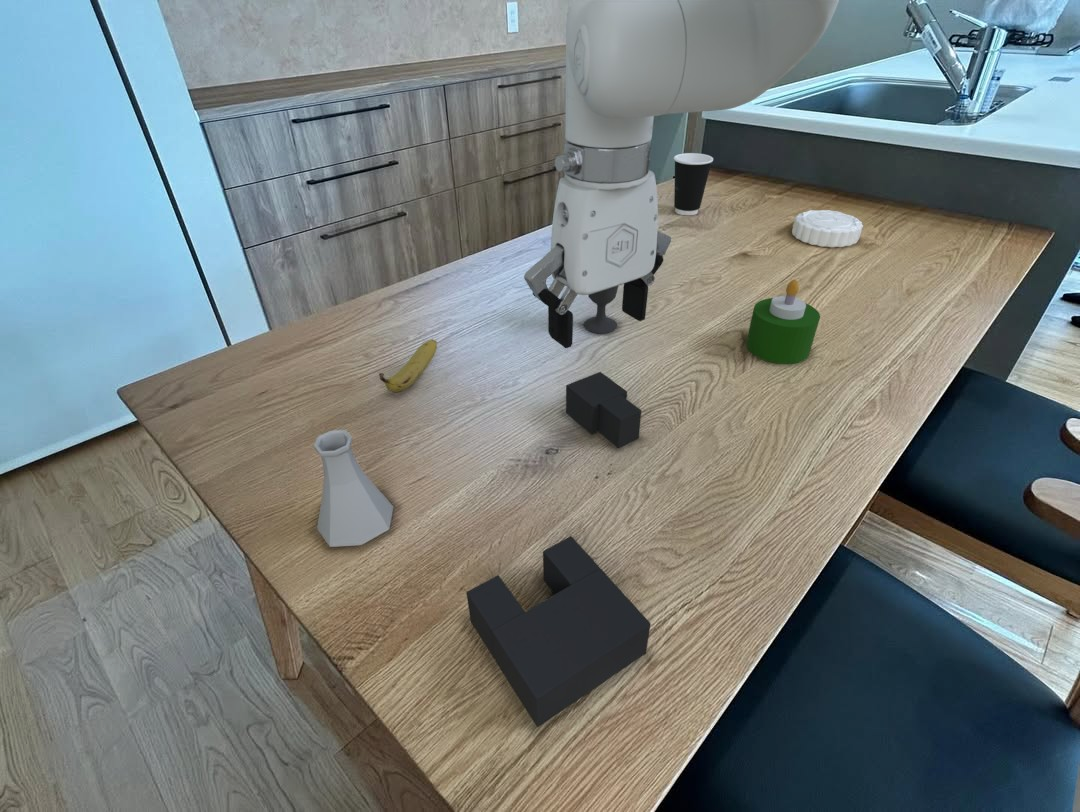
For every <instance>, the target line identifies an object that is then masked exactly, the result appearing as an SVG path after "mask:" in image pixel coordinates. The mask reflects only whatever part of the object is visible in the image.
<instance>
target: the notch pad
mask: <svg viewBox="0 0 1080 812" xmlns="http://www.w3.org/2000/svg"><path fill="white" fill-rule="evenodd" d="M542 561H543V562H542V567H543V569H542V570H543V573H542V575H543V582H544V583H545V585H546V586H547V587H548V588H549V590H550V591H551V592H552V593H553V595H551V596H550V597H547V598H546V599H544V600H542V601H541V602H539V603H537V604H536V605H534V606H532V607H530V608H528V609H527V610H526V611H525V609H524V608H523V607H522V605H521V604H520V603H519V601H518V600H517V598H516V597H515V596H514V594H513V593H512V591H511V590H510V589H509V587H508V585H507V584H506V583H505V582H504V580H503V579H502V577H501V576H500V575H499V574H497V575H495V576H493V577H492V578H490V579H487V580H486V581H483V582H482V583H480V584H478V585H477V586H475V587H472V588H471V589H469V590H467V591H465V592H466V593H465V594H466V599H467V606H468V607H467V608H468V612H469V613H468V614H469V619H470V623H471V625H472V626H473V628H474V629H475V631H476V633H477V634H478V636H479V638H480V639H481V640H482V642H483V644H484V645H485V647H486V648H487V650H488V651H489V653H490V655H491V657H492V658H493V660H494V661H495V663H496V664H497V666H498V668H499V670H500V671H501V672H502V674H503V675H504V677H505V679H506V681H507V682H508V683H509V685H510V687H511V688H512V690H513V691H514V693H515V695H516V697H517V698H518V700H519V701H520V702H521V704H522V706H523V707H524V709H525V710H526V712H527V714H528V715H529V717H530V719H531V720H532V723H534V725H535V726H536V728H539V727H541V726H542V725H543V724H545V723H547V722H548V721H549V720H551V719H552V718H554V717H555V716H557V715H558V714H560V713H561V712H563V711H564V710H566V709H568V707H570V706H572V705H573V704H574V703H576V702H577V701H579V700H580V699H582V698H583V697H584V696H586V695H587V694H589V693H590V692H592V691H593V690H594V689H596V688H598V687H599V686H601V685H603V684H604V683H605V682H607V681H608V680H609V679H610V678H612V677H614V676H615V675H617V674H618V673H620V672H621V671H622V670H624V669H625V668H627V667H628V666H630V665H632V664H633V663H634V662H635V661H637V660H638V659H640V658H642V657H643V656H644V655H646V654H647V649H648V642H649V636H650V631H651V625H652V624H651V622H650V621H649V620H648V619H647V618H646V616H645V615H644V614H643V613H642V612H641V611H640V610H639V609H638V608H637V607H636V606H635V604H634V603H633V602H632V601H631V600H630V599H629V598H628V596H626V594H625V593H624V592H623V591H622V590H621V589H620V588H619V586H617V585H616V583H614V581H613V580H612V579H611V578H610V577H609V576H608V575H607V574H606V572H605V571H604V570H603V569H602V568H601V567H600V566H599V565H598V563H597V562H596V561H595V560H594V559H593V558H592V557H591V556H590V555H589V554H588V553H587V551H586V550H585V549H584V548H583V547H582V545H580V543H578V541H576V539H575V538H574V537H573V536H572V535H570V536H568V537H566V538H565V539H564V538H563V540H560V541H559V542H556V543H555V544H553V545H552V546H549V547H548V548H546V549H544V550H542Z"/></svg>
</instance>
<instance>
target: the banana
mask: <svg viewBox="0 0 1080 812" xmlns="http://www.w3.org/2000/svg"><path fill="white" fill-rule="evenodd" d="M437 343H438V342H437V341H436V340H434V339H429V340H427V341H425V342H423V343H422V344H421V345H420V346H419V347H418V348H417V349H416V350H415V352H414V353H413V354H412V356H411V357H410V358H409V360H408V361H407V362H406V363H405V364H404V365H403V366H402V368H401V369H400V370H399V371H397V372H396V373H395V374H394V375H393V376H392V377H390V378H385V377H384V375H385V374H384V373H382V372H381V373H378V376H379V380H380V381H382V382H383V383H384V385H385V387H386V389H387V390H388V391H389V392H391V393H401V392H403V391H405V390H407V389H408V388H410V387H412V386H413V385H414V384H415V382H417V380H418V379H419V378H420V377H421V376H422V375H423V373H424V372H425V371H426V369H427V368H428V366H429V364H430V363H431V361H432V360H433V358H434V357H435V354H436V352H437V348H438V344H437Z"/></svg>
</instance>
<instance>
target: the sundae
mask: <svg viewBox="0 0 1080 812" xmlns="http://www.w3.org/2000/svg"><path fill="white" fill-rule="evenodd" d="M618 290H619V285H618V286H615V287H612V288H609V289H606V290H602V291H599V292H596V293H593V294H589V295H587V296H588V299H590V301H592V302H593V303H594V304H595V305H596V313H595V314H596V315H595V316H592V317H589V318H587V319H586V320H585V321H584V322H583V327H584V328H585V330H587V331H589V332H590V333H594V334H608V333H612V332H614V331H615V330H617V328H618V322H617V321H616V320H615V319H613V318H611V317H608V316H607V315H606V307H607V305H609V304H610V303H611V302H612V301H614V300H615V299H616V298H617V293H618Z"/></svg>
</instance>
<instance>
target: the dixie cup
mask: <svg viewBox="0 0 1080 812" xmlns="http://www.w3.org/2000/svg"><path fill="white" fill-rule="evenodd" d="M673 160H674V195H673V198H674V199H673V201H674V202H673V206H674V212H675V213H676V214H678V215H682V216H694V215H697V214H698V213H699V210H700V208H701V206H702V201H703V197H704V193H705V190H706V185H707V181H708V178H709V173H710V171H711V170H710V169H711V166H712V163H713V161H714V157H712V156H711V155H709V154H705V153H699V152H698V153H697V152H685V153H679V154H676V155H674V156H673Z"/></svg>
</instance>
